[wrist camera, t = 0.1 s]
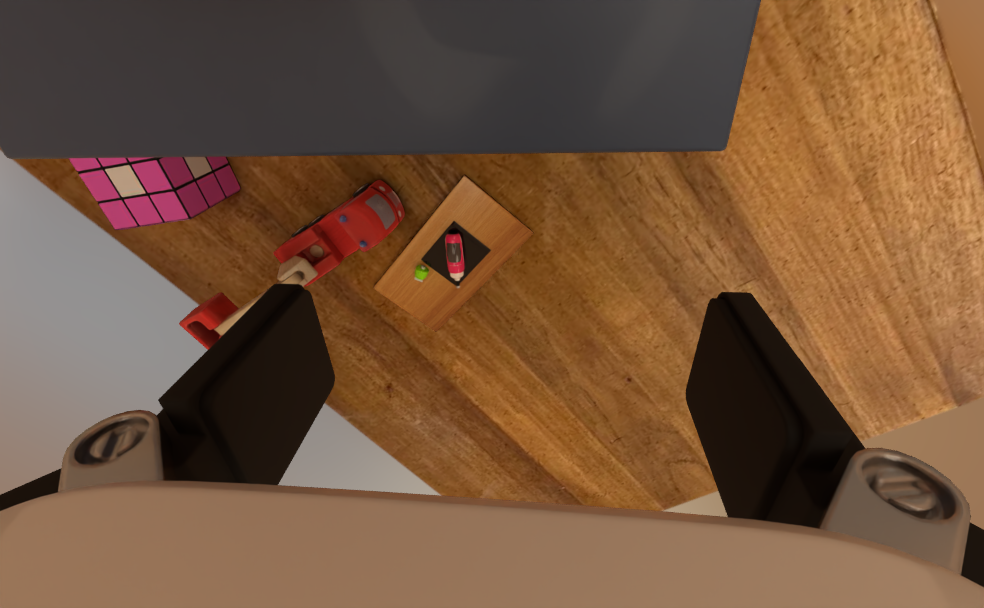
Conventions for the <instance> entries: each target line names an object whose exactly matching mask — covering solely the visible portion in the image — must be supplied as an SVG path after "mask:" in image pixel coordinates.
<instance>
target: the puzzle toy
mask: <svg viewBox="0 0 984 608" xmlns="http://www.w3.org/2000/svg"><path fill="white" fill-rule="evenodd" d="M69 160H70V161H71V163H72V165H73V166H74V168H75V169H76V171H77V172H79V173H78V174H79V175H80V177H81V178H82V180H83V181H84V183H85V184H86V186H87V187H88V189H89V190H90V192H91V194H92V195H93V197H94V198H95V200H96V201H97V202H98V204H99V206H100V207H101V209H102V210H103V212H104V213H105V215H106V216H107V218H108V219H109V221H110V223H111V224H112V226H113V227H114V229H115V230H122V229H129V228H136V227H141V226H149V225H156V224H162V223H166V222H168V223H169V222H176V221H182V220H189V219H192V218H194V217H195V216H197V215H199V214H200V213H202V212H204V211H206V210H207V209H208V208H211V207H213V206H214V205H216V204H218V203H219V202H221V201H223V200H224V199H226V198H228V197H230V196H231V195H233V194H235V193H237V192H238V191H240V186H239V184H238V182H237V180H236V178H235V176H234V174H233V171H232V169H231V167H230V165H229V164H228V161H227V159H226V157H149V158H69Z"/></svg>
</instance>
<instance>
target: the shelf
mask: <svg viewBox="0 0 984 608" xmlns="http://www.w3.org/2000/svg"><path fill="white" fill-rule="evenodd" d="M760 2H761V0H0V148H1V149H2V151H3V153H4V154H5V156H6V157H7V158H10V159H58V158H149V157H240V156H331V155H422V154H512V153H603V152H694V151H722V150H725V148H726V146H727V143H728V139H729V134H730V130H731V126H732V122H733V117H734V113H735V109H736V104H737V100H738V96H739V92H740V87H741V83H742V79H743V75H744V70H745V66H746V62H747V58H748V53H749V49H750V45H751V41H752V36H753V32H754V28H755V23H756V19H757V15H758V11H759V6H760Z"/></svg>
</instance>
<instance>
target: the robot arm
mask: <svg viewBox="0 0 984 608" xmlns="http://www.w3.org/2000/svg"><path fill="white" fill-rule="evenodd" d="M334 381H335V375H334V371H333V367H332V364H331V360H330V357H329V354H328V350H327V347H326V343H325V340H324V337H323V333H322V330H321V326H320V323H319V319H318V316H317V313H316V309H315V306H314V302H313V299H312V296H311V293H310V292H309V291H308V290H304V288H303V287H302V285H300V284H274V285H273V286H271V287H270V288H269V289H268V290H267V291H266V292H265V293H264V294H263V295H262V296H261V297H260V298H259V299H258V300H257V301H256V302H255V303H254V304H253V305H252V306H251V307H250V308H249V309H248V310H247V311H246V312H245V313H244V314H243V315H242V316H241V317H240V318H239V319H238V320H237V321H236V322H235V323H234V324H233V325H232V326H231V327H230V328H229V329H228V330H227V331H226V332H225V333H224V335H223V336H222V337H221V338H220V339H219V340H218V341H217V342H216V343H215V344H214V345H213V346H212V347H211V348H210V349H209V350H208V351H207V352H206V353H205V354H204V355H203V356H202V357H201V358H200V359H199V360H198V361H197V362H196V363H195V364H194V365H193V366H192V367H191V368H190V369H189V370H188V371H187V372H186V373H185V374H184V375H183V376H182V377H181V378H180V379H179V380H178V381H177V382H176V383H175V384H174V385H173V386H172V387H171V388H170V389H169V390H168V391H167V392H166V393H165V394H164V395H163V396H162V397H161V398H160V399H159V400H158V401H159V402H160V404H161V406H162V407H163V410H162V411H161V412H160V413H159V414H158V415H157V416H156V415H155V414H153V413H152V412H150V411H144V410H135V411H127V412H124V413H120V414H117V415H113V416H111V417H109V418H107V419H104V420H102V421H100V422H98V423H96V424H95V425H93V426H92V427H90V428H88V429H87V430H85V431H84V432H83V433H82V434H80V435H79V436H78V437H77V438H76V439H75V440H74V441H73V442H72V443H71V444H70V446H69V447H68V448H67V450H66V452H65V455H64V458H63V462H62V468H61V469H59V470H56V471H54V472H52V473H50V474H47V475H45V476H43V477H40V478H38V479H36V480H34V481H31V482H29V483H26V484H24V485H22V486H20V487H18V488H15V489H13V490H11V491H8V492H6V493H4V494H1V495H0V608H984V530H983V529H981V528H979V527H977V526H976V525H974V524H972V523H970V518H971V515H970V507H969V504H968V502H967V500H966V499H965V497H964V495H963V494H962V492H961V491H960V490H959V489H958V488H957V487H956V486H955V485H954V484H953V483H952V482H951V480H950V479H948V478H947V477H946V476H944V475H943V474H941V473H940V472H939V471H938V470H936V469H935V468H933V467H932V466H930V465H928V464H926V463H924V462H922V461H921V460H919V459H917V458H915V457H912V456H909V455H906V454H904V453H901V452H898V451H893V450H889V449H883V448H867V449H865V447H864V446H863V445H862V443H861V442H860V441H859V439H858V438H857V436H856V435H855V434H854V432H853V431H852V430H851V428H850V427H849V426H848V424H847V423H846V421H845V420H844V419H843V417H842V416H841V415H840V413H839V412H838V411H837V409H836V408H835V406H834V405H833V404H832V402H831V401H830V400H829V398H828V397H827V395H826V394H825V393H824V391H823V390H822V389H821V387H820V386H819V385H818V383H817V382H816V380H815V379H814V378H813V376H812V375H811V374H810V372H809V371H808V370H807V368H806V367H805V365H804V364H803V363H802V361H801V360H800V359H799V358H798V357H797V355H796V354H795V353H794V351H793V350H792V348H791V347H790V346H789V344H788V343H787V342H786V340H785V339H784V337H783V336H782V335H781V333H780V332H779V331H778V329H777V328H776V327H775V325H774V324H773V322H772V321H771V320H770V318H769V317H768V316H767V314H766V313H765V311H764V310H763V309H762V307H761V306H760V305H759V303H758V302H757V301H756V299H755V298H754V296H753V295H752V294H751V293H741V292H722V293H720V294H719V296H718V297H717V298H712V299H711V300H710V301H709V303H708V307H707V311H706V314H705V318H704V322H703V326H702V330H701V334H700V337H699V341H698V345H697V349H696V353H695V357H694V360H693V364H692V368H691V372H690V376H689V380H688V384H687V388H686V401H687V405H688V408H689V410H690V413H691V416H692V419H693V421H694V424H695V427H696V430H697V432H698V435H699V438H700V441H701V444H702V446H703V449H704V452H705V455H706V457H707V460H708V463H709V466H710V468H711V471H712V474H713V477H714V480H715V482H716V485H717V488H718V491H719V493H720V496H721V499H722V502H723V504H724V507H725V510H726V512H727V515H728V517H720V516H707V515H696V514H685V513H674V512H663V511H650V510H636V509H622V508H609V507H595V506H581V505H567V504H554V503H540V502H526V501H511V500H497V499H482V498H468V497H453V496H437V495H423V494H408V493H393V492H378V491H361V490H346V489H329V488H313V487H297V486H281V485H278V484H279V482H280V480H281V478H282V477H283V475H284V473H285V471H286V470H287V468H288V466H289V464H290V463H291V461H292V459H293V457H294V455H295V454H296V452H297V450H298V448H299V447H300V445H301V443H302V441H303V440H304V437H305V436H306V434H307V432H308V431H309V429H310V427H311V425H312V424H313V422H314V420H315V418H316V417H317V415H318V413H319V411H320V409H321V408H322V406H323V404H324V403H325V401H326V399H327V397H328V395H329V394H330V392H331V390H332V388H333V386H334Z"/></svg>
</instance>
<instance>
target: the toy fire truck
mask: <svg viewBox="0 0 984 608" xmlns="http://www.w3.org/2000/svg"><path fill="white" fill-rule="evenodd" d="M404 216H405V212H404V209H403V206H402V203H401V201H400V199H399V198H398V196H397V195H396V193H395V192H394V191H393V190H392V189H391V187H390V186H388V185H387V184H386V183H385V182H383V181H381V180H377V181H375V182H374V183H373V184H372V185H369V184H368V183H367V184H365V185H364V186H362V187H361V188H360V189H358V190H357V191H356V192H355V193H354V194H353V197H352V198H350V199H349V200H347V201H346V202H344V203H343V204H341V205H340V206H338V207H337V208H336V209H334V210H332V211H331V212H329V213H328V214H327V215H326V216H325V215H321V216H319V217H317V218H316V219H315V220H313V221H312V222H311V223H309V225H305V226H303V227H301V228H300V229H299V230H298V231H296V232H295V233H294V234H293V235H292V238H291V239H289V240H288V241H286V242H285V243H283V244H282V245H281V246H280V247H279V248H278V249H277V250H276V251H274V255H275V256H276V258H277V259H278V260H279V261H280V262H281V263H282V264H281V265H280V268H279V272H278V276H277V279H278V280H279V282H277V283H276V284H300V285H302V287H303V286H307V285H310V284H311V283H313V282H314V281H316V280H317V279H319V278H320V277H322V276H323V275H324V274H326V273H327V272H329V271H331V270H332V269H333V268H335V267H336V266H338V265H339V264H340V263H341V262H342V260H343V259H344V258H345V257H347V256H349V255H350V254H352V253H353V252H355V251H357V250H358V249H361V250H362V251H363V252H365V251H367V250H369V249H371V248H372V247H374V246H375V245H377V244H378V243H380V242H381V241H382V240H383V239H384V238H385V237H386V236H387V235H388V234H389V233H390V232H392V231H393V230H394V229H395V228H396V226H397V225H398V223H400V222H401V220H402V219H403V218H404ZM267 290H268V289H267ZM267 290H266V291H267ZM266 291H264V292H263V293H262V294H260V295H259V296H257V297H256V298H254V299H253V300H251V301H250V302H249V303H247V304H246V305H244V306H243V307H241V308H240V309H239V308H237V307H236V306H235V305H234V304H233V303H232V302H231V301H230V300H229V299H228V298H227V297H226V296H225V295H224V294H223V293H218V294H217V295H215V296H214V297H212V298H211V299H209V300H207V301H206V302H205V303H203V304H201V305H199V306H198V307H197V308H195V309H194V310H193V311H191V313H190V314H188V315H187V316H186V317H185V318H184V319H183V320H182V321H181V322H180V323H179V324H180V326H182V327H183V328H184V329H185V330H186V331H187V332H188V333H190V334H191V335H192V336H193V337H194V338H195V339H196V340H198V341H199V342H200V343H201V344H202V345H203V346H204V347H205V348H206V349H208V350H209V349H210V348H211V347H212V346H213V345H214V344H215V343H216V342H217V341H218V340H219V339H220V338H221V337H222V336H223V335H224V333H225V332H226V331H227V330H228V329H229V328H230V327H231V326H232V325H233V324H234V323H235V322H236V321H237V320H238V319H239V318H240V317H241V316H242V315H243V314H244V313H245V312H246V311H247V310H248V309H249V308H250V307H251V306H252V305H253V304H254V303H255V302H256V301H257V300H258V299H259V298H260V297H261V296H262V295H263V294H264V293H265V292H266Z"/></svg>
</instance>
